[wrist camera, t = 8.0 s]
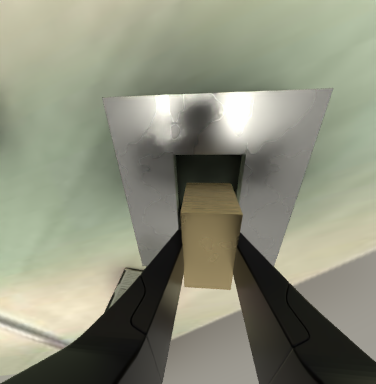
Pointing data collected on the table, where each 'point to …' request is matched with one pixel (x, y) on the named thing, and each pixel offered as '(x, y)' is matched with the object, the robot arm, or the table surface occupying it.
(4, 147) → the table surface
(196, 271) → the tan wooden post
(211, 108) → the money box
